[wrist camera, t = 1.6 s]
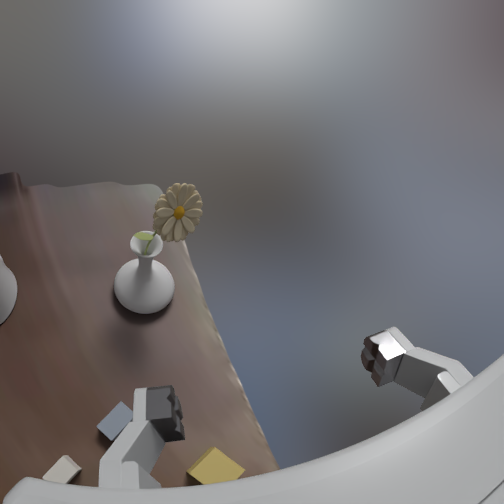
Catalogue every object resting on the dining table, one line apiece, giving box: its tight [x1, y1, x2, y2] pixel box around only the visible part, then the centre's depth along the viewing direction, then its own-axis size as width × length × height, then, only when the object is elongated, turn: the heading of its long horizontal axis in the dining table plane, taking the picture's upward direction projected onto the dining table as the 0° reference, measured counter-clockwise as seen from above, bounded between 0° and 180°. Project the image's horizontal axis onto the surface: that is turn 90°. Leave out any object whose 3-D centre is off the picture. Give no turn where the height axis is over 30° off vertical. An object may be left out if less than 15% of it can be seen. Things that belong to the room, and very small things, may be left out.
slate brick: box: [96, 401, 133, 441], centre depth 35 cm, size 6×3×3 cm, turn 147°
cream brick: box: [42, 455, 81, 484], centre depth 26 cm, size 6×3×3 cm, turn 148°
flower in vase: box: [114, 183, 203, 314], centre depth 43 cm, size 13×11×25 cm
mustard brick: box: [187, 447, 245, 485], centre depth 35 cm, size 6×6×4 cm
